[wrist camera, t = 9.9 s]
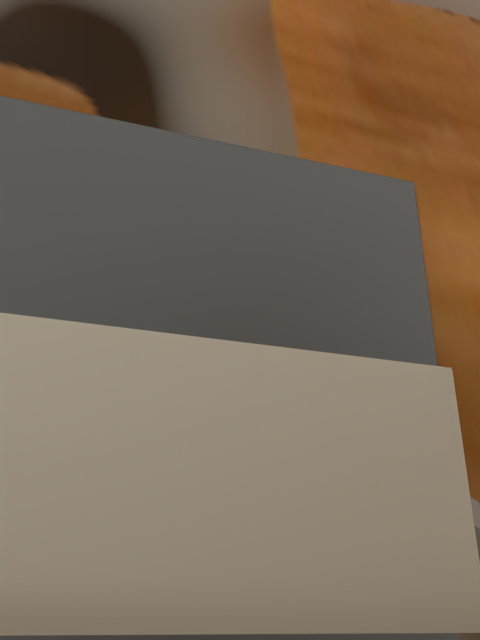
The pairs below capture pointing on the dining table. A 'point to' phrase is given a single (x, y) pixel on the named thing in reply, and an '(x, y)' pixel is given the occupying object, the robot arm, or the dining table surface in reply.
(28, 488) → the card deck
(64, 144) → the mat
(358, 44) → the dining table surface
